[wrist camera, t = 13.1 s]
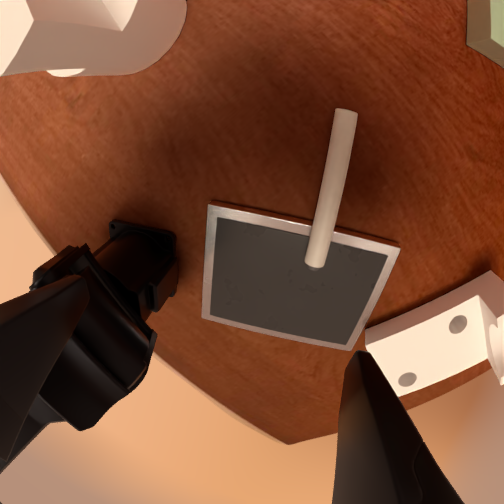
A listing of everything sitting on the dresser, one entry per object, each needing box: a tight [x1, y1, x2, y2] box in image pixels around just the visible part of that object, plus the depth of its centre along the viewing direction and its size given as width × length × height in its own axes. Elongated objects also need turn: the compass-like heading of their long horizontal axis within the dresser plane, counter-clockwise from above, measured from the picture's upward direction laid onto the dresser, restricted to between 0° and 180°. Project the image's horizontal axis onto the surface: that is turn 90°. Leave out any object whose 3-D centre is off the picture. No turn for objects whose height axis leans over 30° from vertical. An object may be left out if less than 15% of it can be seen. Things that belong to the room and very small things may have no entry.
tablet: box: [202, 200, 401, 351], centre depth 22 cm, size 14×11×1 cm
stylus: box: [304, 108, 358, 271], centre depth 17 cm, size 1×1×11 cm
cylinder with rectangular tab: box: [0, 0, 187, 77], centre depth 9 cm, size 9×9×12 cm
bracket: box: [365, 270, 504, 397], centre depth 18 cm, size 13×7×8 cm, turn 125°
